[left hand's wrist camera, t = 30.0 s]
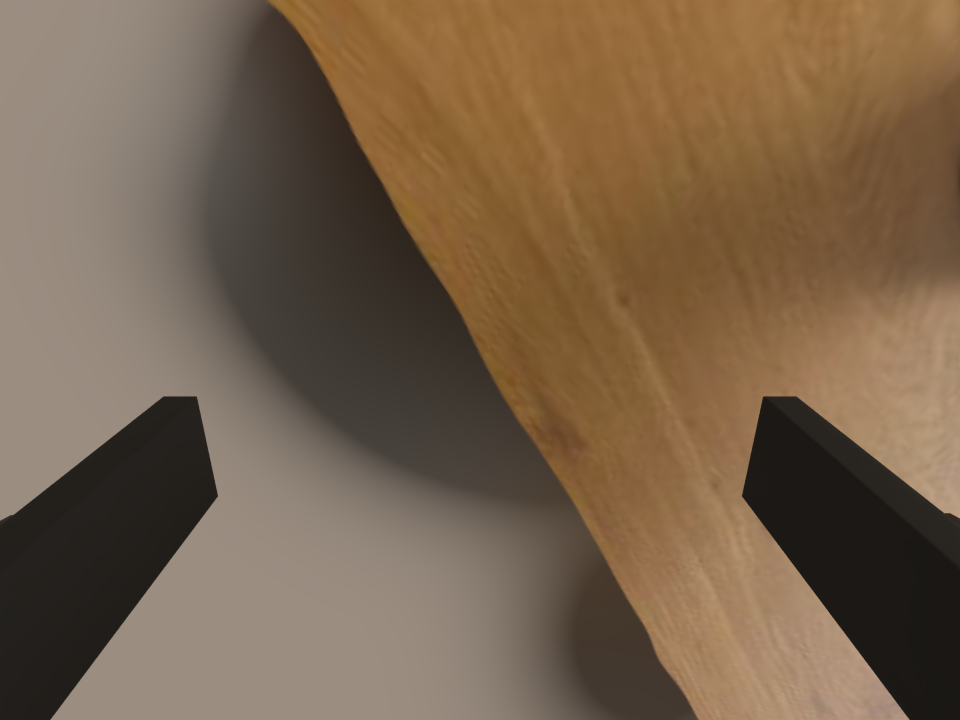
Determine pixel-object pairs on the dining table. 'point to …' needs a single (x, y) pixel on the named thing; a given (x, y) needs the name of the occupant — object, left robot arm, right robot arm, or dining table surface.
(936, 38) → the dining table surface
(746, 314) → the dining table surface
